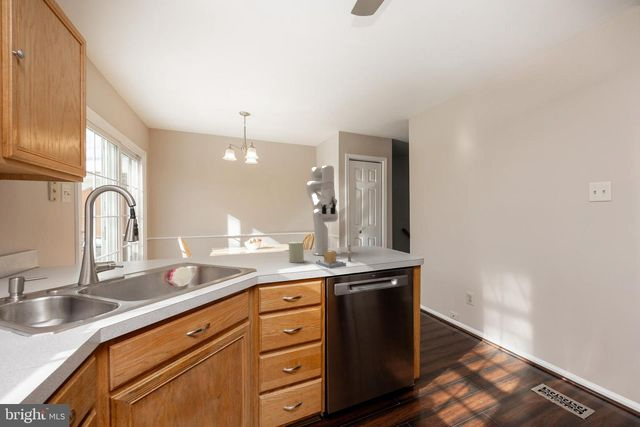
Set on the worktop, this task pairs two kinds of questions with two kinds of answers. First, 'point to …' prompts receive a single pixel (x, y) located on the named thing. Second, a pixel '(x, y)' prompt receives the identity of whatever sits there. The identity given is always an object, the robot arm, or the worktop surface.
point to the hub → (330, 257)
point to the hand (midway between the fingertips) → (328, 214)
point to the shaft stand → (329, 265)
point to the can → (296, 251)
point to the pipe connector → (349, 252)
